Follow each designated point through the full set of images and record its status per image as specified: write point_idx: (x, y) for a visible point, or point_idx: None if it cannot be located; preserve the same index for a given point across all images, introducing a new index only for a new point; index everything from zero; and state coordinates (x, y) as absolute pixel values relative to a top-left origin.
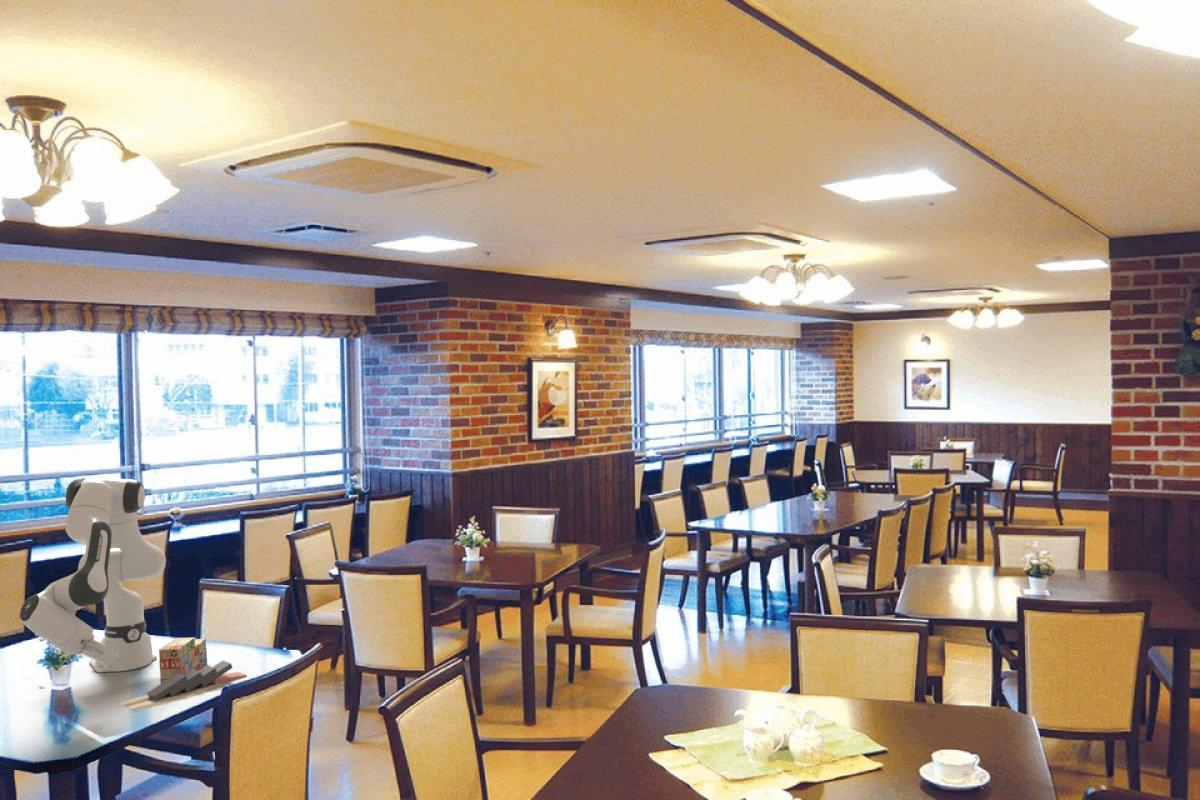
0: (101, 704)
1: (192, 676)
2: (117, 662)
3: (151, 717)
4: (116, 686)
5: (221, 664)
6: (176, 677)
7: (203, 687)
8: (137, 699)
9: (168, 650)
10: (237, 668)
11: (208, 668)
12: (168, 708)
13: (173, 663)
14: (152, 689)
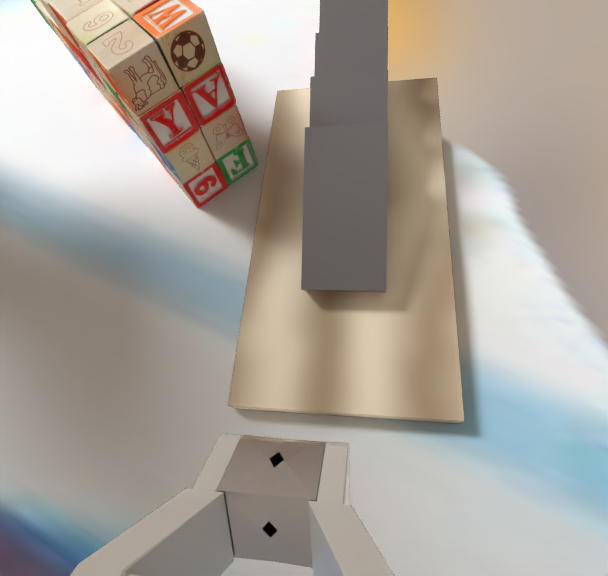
0: (144, 440)
1: (380, 107)
2: (347, 448)
3: (551, 392)
4: (14, 292)
5: (346, 4)
6: (343, 151)
7: None
8: (284, 331)
9: (156, 48)
10: (246, 14)
11: (352, 42)
12: (474, 287)
13: (204, 99)
14: (303, 260)
